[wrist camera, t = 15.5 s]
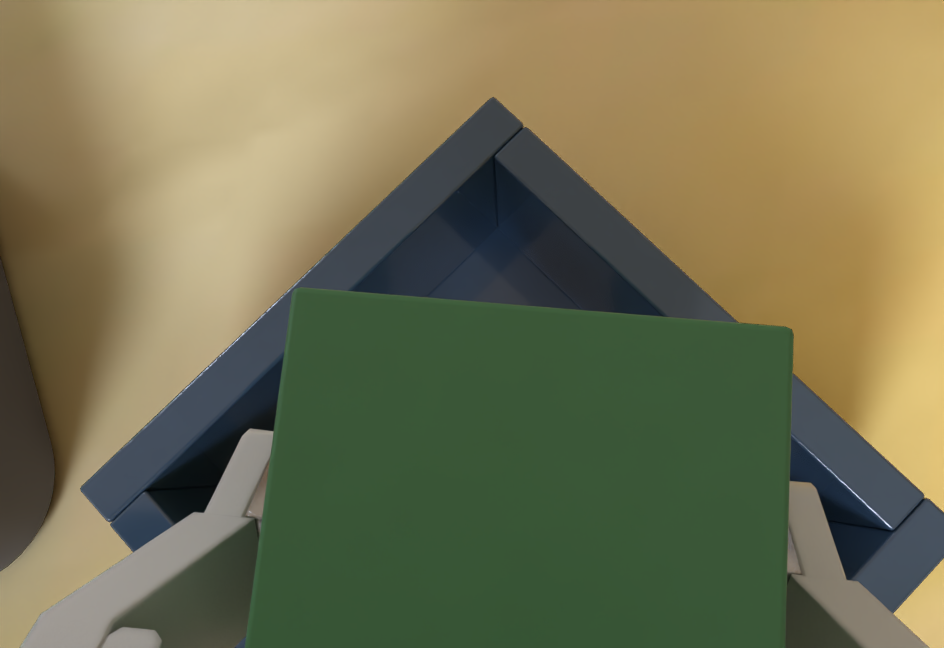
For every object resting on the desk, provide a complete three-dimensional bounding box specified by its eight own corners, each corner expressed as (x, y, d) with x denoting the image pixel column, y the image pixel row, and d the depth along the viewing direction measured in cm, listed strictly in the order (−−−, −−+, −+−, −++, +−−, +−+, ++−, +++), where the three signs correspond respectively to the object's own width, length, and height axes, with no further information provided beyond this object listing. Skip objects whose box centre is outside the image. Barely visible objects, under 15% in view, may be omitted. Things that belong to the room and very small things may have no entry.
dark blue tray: (196, 483, 23) (76, 488, 17) (497, 192, 24) (492, 93, 18) (524, 850, 21) (529, 1014, 15) (837, 514, 22) (969, 533, 16)
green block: (383, 628, 16) (219, 821, 7) (409, 383, 17) (290, 285, 8) (631, 655, 16) (781, 894, 7) (646, 404, 16) (796, 326, 8)
